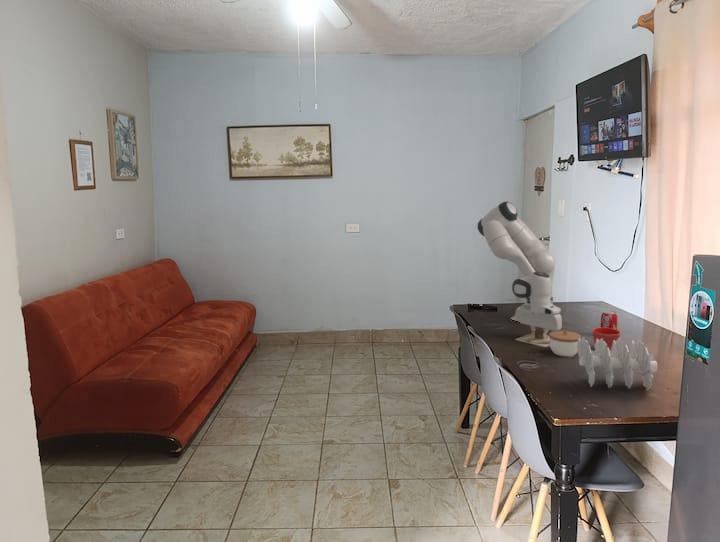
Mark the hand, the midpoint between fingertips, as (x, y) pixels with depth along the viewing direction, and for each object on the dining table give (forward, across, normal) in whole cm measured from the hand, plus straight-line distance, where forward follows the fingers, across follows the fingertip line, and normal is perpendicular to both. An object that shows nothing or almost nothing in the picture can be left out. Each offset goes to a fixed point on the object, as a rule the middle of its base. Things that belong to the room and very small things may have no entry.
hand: (539, 336), depth 238 cm
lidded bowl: (+3, +18, -10) cm, 21 cm away
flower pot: (+3, +28, +6) cm, 29 cm away
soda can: (+3, +18, +30) cm, 35 cm away
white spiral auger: (+3, +48, -28) cm, 56 cm away
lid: (+2, 0, 0) cm, 2 cm away
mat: (+3, 0, 0) cm, 3 cm away
